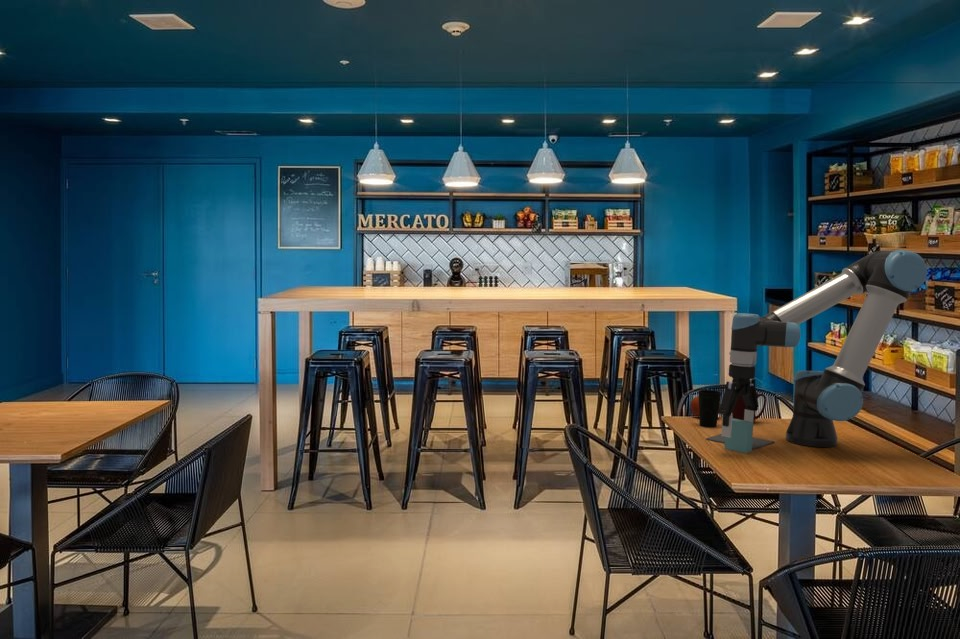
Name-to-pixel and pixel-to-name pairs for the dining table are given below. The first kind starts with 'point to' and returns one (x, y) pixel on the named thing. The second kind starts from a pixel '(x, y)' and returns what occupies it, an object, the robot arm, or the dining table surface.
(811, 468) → the dining table surface
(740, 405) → the mug
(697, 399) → the fruit
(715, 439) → the mat
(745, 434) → the card box
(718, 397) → the cup
